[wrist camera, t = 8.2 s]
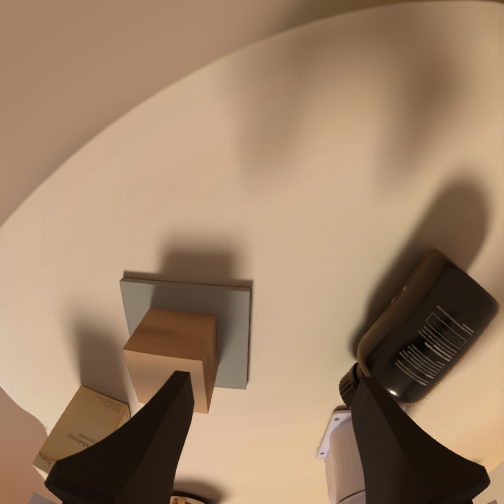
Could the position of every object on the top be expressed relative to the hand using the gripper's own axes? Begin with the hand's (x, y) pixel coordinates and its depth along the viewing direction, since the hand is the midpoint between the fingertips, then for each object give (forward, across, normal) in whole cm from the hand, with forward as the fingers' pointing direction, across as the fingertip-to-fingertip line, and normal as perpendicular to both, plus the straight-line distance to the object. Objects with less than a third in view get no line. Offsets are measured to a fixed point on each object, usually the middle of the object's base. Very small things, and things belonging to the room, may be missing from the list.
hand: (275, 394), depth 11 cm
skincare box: (+10, +18, +16) cm, 26 cm away
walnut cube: (+9, +6, +4) cm, 12 cm away
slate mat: (+9, +6, +5) cm, 12 cm away
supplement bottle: (+6, -13, -3) cm, 15 cm away
